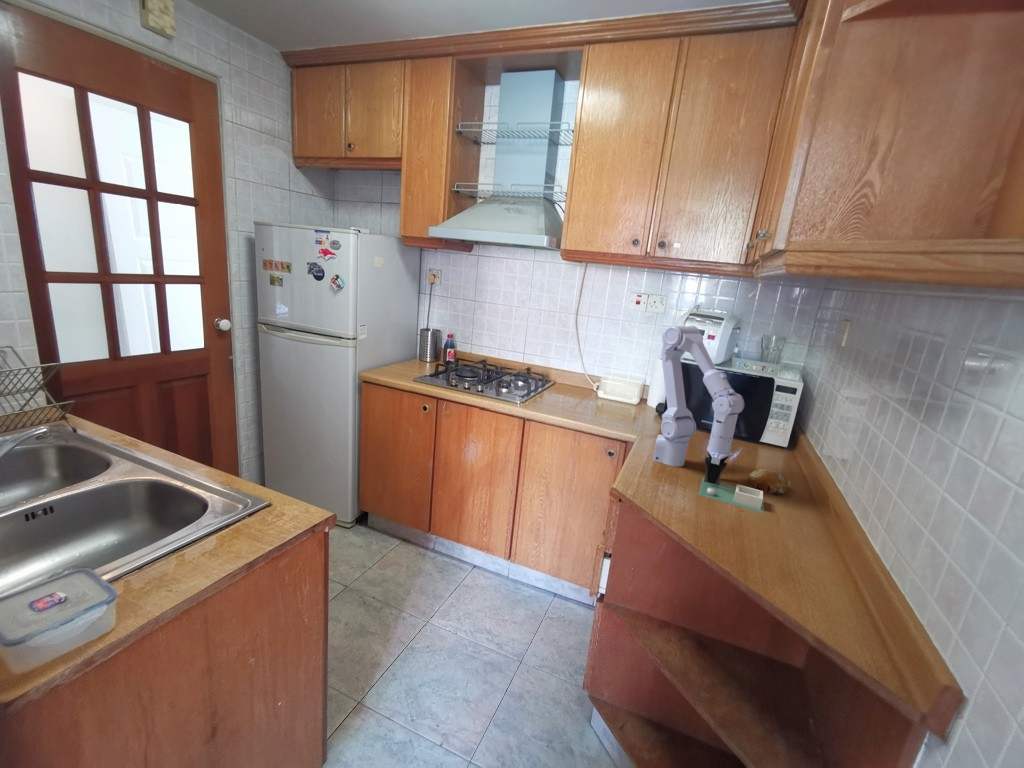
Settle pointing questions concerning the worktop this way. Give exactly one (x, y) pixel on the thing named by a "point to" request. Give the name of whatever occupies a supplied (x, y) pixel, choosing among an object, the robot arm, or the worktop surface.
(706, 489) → the board
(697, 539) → the worktop surface
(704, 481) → the plug
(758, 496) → the white rectangular frame
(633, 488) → the worktop surface
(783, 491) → the bread roll
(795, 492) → the worktop surface
